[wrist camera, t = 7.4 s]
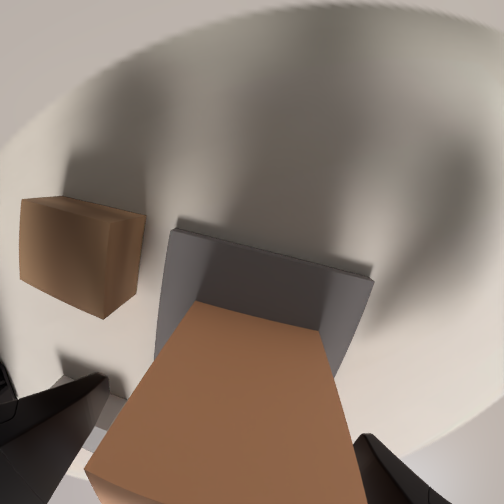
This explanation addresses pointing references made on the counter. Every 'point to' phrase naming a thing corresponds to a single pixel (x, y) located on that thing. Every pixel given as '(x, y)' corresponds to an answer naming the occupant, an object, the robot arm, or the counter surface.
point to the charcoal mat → (260, 290)
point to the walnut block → (80, 252)
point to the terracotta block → (231, 421)
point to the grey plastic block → (105, 418)
